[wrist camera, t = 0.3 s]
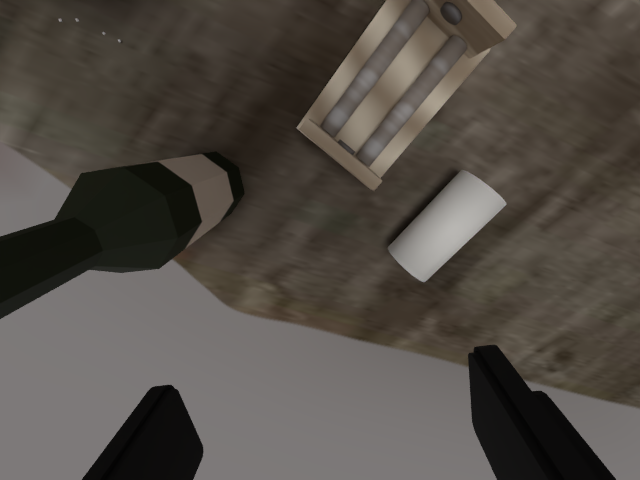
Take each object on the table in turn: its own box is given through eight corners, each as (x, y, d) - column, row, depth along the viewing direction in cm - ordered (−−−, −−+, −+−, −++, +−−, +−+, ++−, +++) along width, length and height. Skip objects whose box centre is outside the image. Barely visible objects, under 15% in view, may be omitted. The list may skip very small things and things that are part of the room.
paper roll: (454, 165, 35) (477, 173, 30) (488, 197, 36) (517, 210, 31) (383, 241, 39) (392, 260, 33) (416, 267, 40) (430, 290, 34)
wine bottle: (218, 136, 36) (-239, 159, 7) (257, 197, 38) (22, 391, 10) (165, 172, 37) (-363, 300, 9) (206, 228, 40) (-118, 467, 11)
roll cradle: (407, -27, 29) (430, -82, 22) (485, 52, 31) (531, 27, 24) (297, 128, 35) (286, 127, 27) (369, 187, 37) (377, 202, 29)
